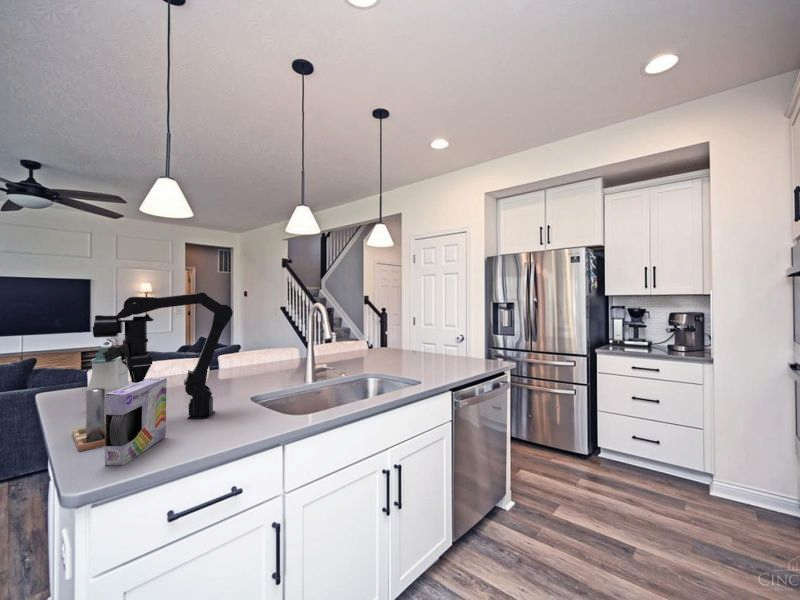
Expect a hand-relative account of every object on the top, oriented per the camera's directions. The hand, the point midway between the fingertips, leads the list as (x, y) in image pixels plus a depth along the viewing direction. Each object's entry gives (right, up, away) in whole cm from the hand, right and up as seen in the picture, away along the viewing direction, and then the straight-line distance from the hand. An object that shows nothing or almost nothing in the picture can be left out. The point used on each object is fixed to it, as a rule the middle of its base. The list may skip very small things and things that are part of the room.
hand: (136, 384), depth 115 cm
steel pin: (0, -13, -15) cm, 20 cm away
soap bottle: (-24, -14, +17) cm, 33 cm away
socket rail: (-4, -13, -11) cm, 18 cm away
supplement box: (-37, -14, +37) cm, 54 cm away
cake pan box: (+15, -13, -20) cm, 28 cm away
